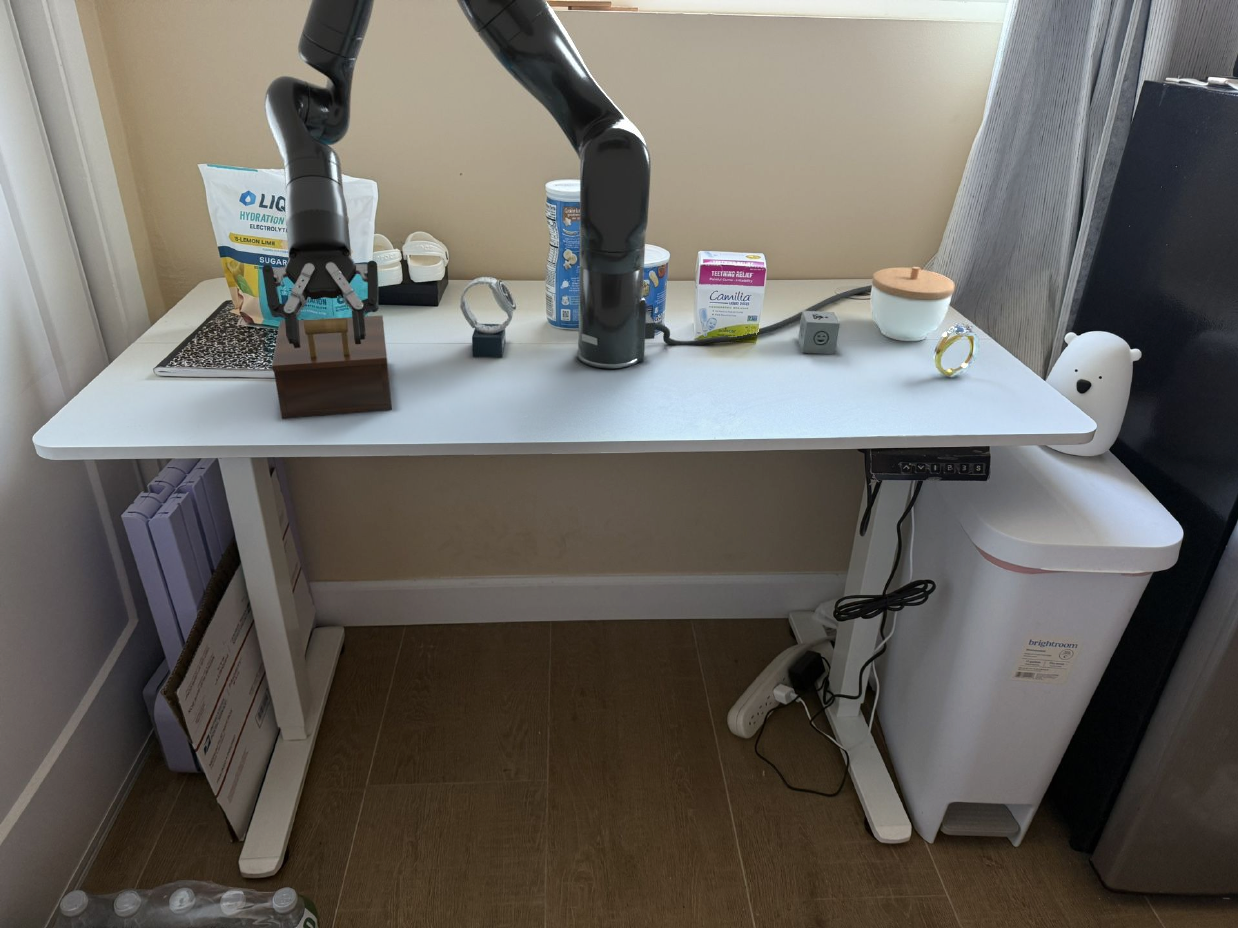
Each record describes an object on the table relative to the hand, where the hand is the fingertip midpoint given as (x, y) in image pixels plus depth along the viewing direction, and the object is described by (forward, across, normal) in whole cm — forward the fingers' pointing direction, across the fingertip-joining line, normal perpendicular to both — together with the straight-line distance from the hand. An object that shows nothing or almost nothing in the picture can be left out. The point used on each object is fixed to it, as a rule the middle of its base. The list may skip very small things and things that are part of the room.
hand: (327, 343), depth 110 cm
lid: (-3, 0, +7) cm, 8 cm away
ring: (+10, +87, +4) cm, 88 cm away
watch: (-6, +22, +20) cm, 30 cm away
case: (+2, 0, +12) cm, 12 cm away
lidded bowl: (-2, +89, +16) cm, 91 cm away
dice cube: (0, +72, +14) cm, 73 cm away
